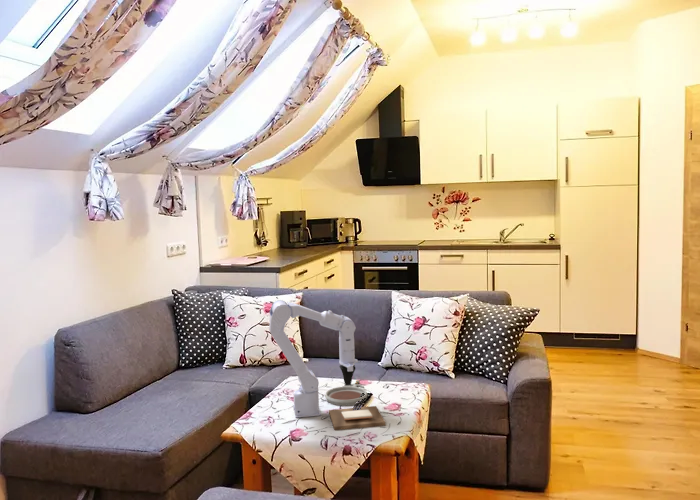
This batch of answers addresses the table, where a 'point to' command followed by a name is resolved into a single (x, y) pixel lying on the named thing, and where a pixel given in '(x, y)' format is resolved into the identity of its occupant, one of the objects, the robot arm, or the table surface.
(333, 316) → the robot arm
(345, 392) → the frying pan
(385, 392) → the table surface
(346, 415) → the tile
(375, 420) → the board
